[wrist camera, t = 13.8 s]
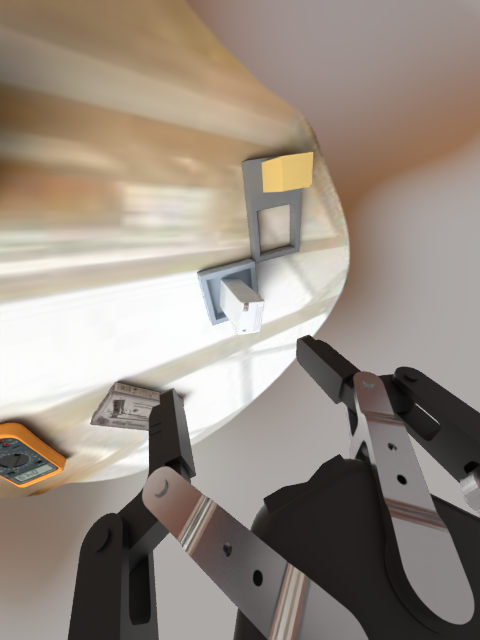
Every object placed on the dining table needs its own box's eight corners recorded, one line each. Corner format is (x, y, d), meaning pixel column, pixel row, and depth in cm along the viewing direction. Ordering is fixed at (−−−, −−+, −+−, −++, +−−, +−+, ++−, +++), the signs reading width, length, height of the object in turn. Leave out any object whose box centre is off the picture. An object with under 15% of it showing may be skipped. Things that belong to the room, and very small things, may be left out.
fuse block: (241, 162, 32) (264, 153, 26) (295, 154, 34) (328, 145, 28) (251, 260, 41) (270, 271, 35) (293, 249, 43) (318, 258, 37)
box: (162, 422, 55) (163, 433, 53) (92, 413, 46) (88, 426, 43) (184, 396, 53) (185, 405, 51) (114, 380, 43) (112, 391, 41)
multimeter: (17, 415, 39) (8, 432, 37) (69, 457, 49) (65, 472, 47) (-39, 434, 37) (-53, 453, 34) (28, 473, 47) (21, 490, 44)
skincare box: (237, 303, 44) (262, 333, 35) (217, 305, 43) (238, 337, 33) (239, 276, 41) (267, 300, 32) (218, 277, 40) (241, 302, 30)
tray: (196, 272, 38) (199, 276, 36) (249, 258, 41) (254, 261, 39) (209, 319, 44) (212, 325, 42) (254, 305, 47) (259, 309, 45)
